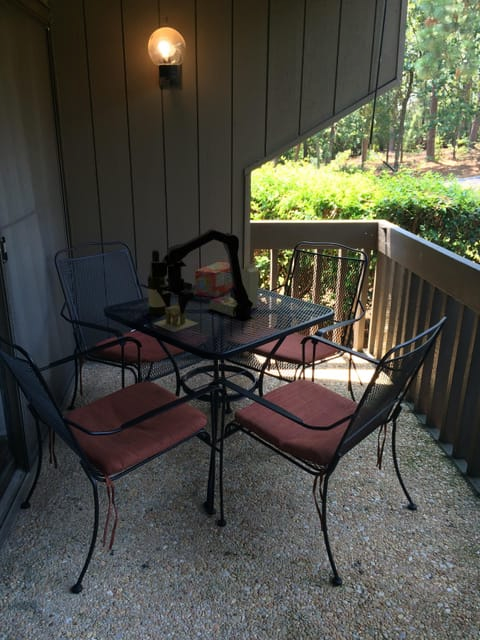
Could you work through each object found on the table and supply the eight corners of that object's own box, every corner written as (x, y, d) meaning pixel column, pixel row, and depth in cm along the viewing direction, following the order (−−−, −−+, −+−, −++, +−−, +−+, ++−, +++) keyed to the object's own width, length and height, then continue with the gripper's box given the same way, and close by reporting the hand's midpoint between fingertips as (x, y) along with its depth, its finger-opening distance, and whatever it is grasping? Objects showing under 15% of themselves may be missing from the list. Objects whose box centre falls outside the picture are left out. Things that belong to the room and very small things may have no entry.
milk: (257, 307, 244) (259, 264, 237) (248, 310, 240) (250, 265, 233) (248, 304, 248) (250, 261, 241) (240, 307, 244) (241, 263, 237)
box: (217, 283, 286) (217, 260, 281) (237, 286, 281) (238, 262, 276) (194, 295, 263) (194, 269, 258) (215, 298, 258) (215, 272, 253)
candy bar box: (225, 295, 246) (250, 302, 236) (225, 304, 248) (249, 312, 237) (209, 299, 238) (233, 307, 228) (209, 309, 240) (233, 317, 230)
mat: (198, 324, 219) (198, 323, 219) (174, 332, 209) (174, 331, 209) (177, 317, 228) (177, 315, 228) (153, 324, 218) (153, 322, 218)
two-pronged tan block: (185, 323, 218) (184, 308, 216) (174, 326, 214) (174, 311, 212) (176, 320, 222) (175, 305, 220) (165, 323, 218) (165, 308, 216)
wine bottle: (162, 316, 228) (161, 252, 218) (145, 315, 230) (143, 251, 220) (168, 311, 236) (167, 248, 226) (152, 309, 237) (150, 247, 227)
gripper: (203, 277, 211) (203, 312, 216) (174, 269, 223) (175, 302, 228) (184, 282, 203) (184, 317, 208) (155, 273, 215) (156, 307, 220)
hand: (175, 311), depth 216 cm, fingers open, 9 cm apart
